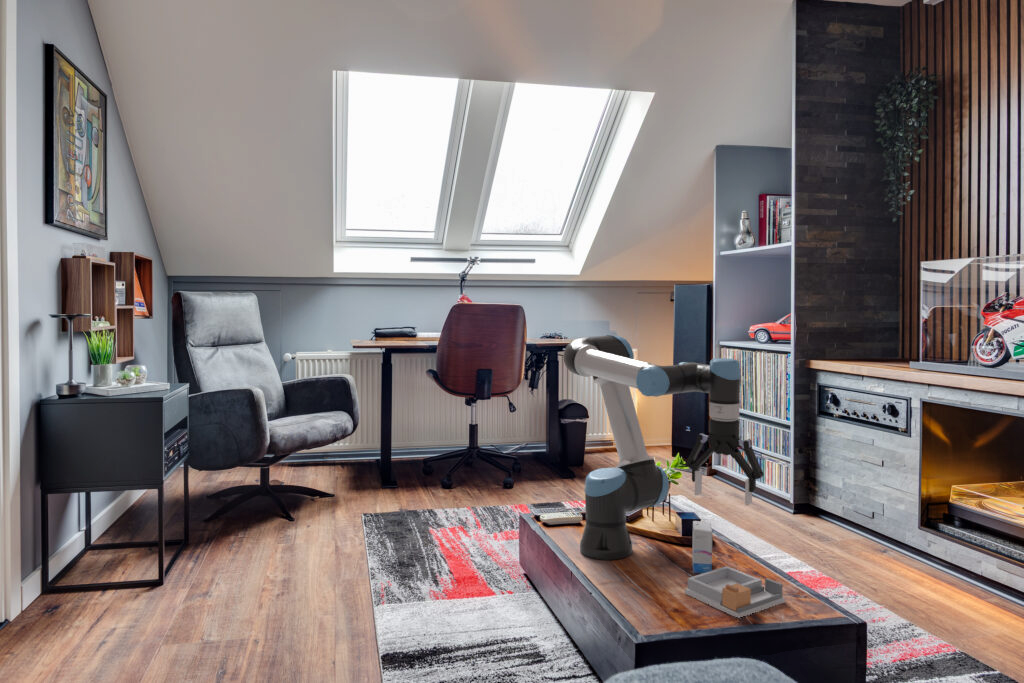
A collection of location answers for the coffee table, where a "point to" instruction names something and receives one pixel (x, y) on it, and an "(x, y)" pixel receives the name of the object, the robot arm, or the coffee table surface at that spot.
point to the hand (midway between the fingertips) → (722, 499)
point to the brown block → (736, 596)
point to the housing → (713, 581)
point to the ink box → (702, 547)
